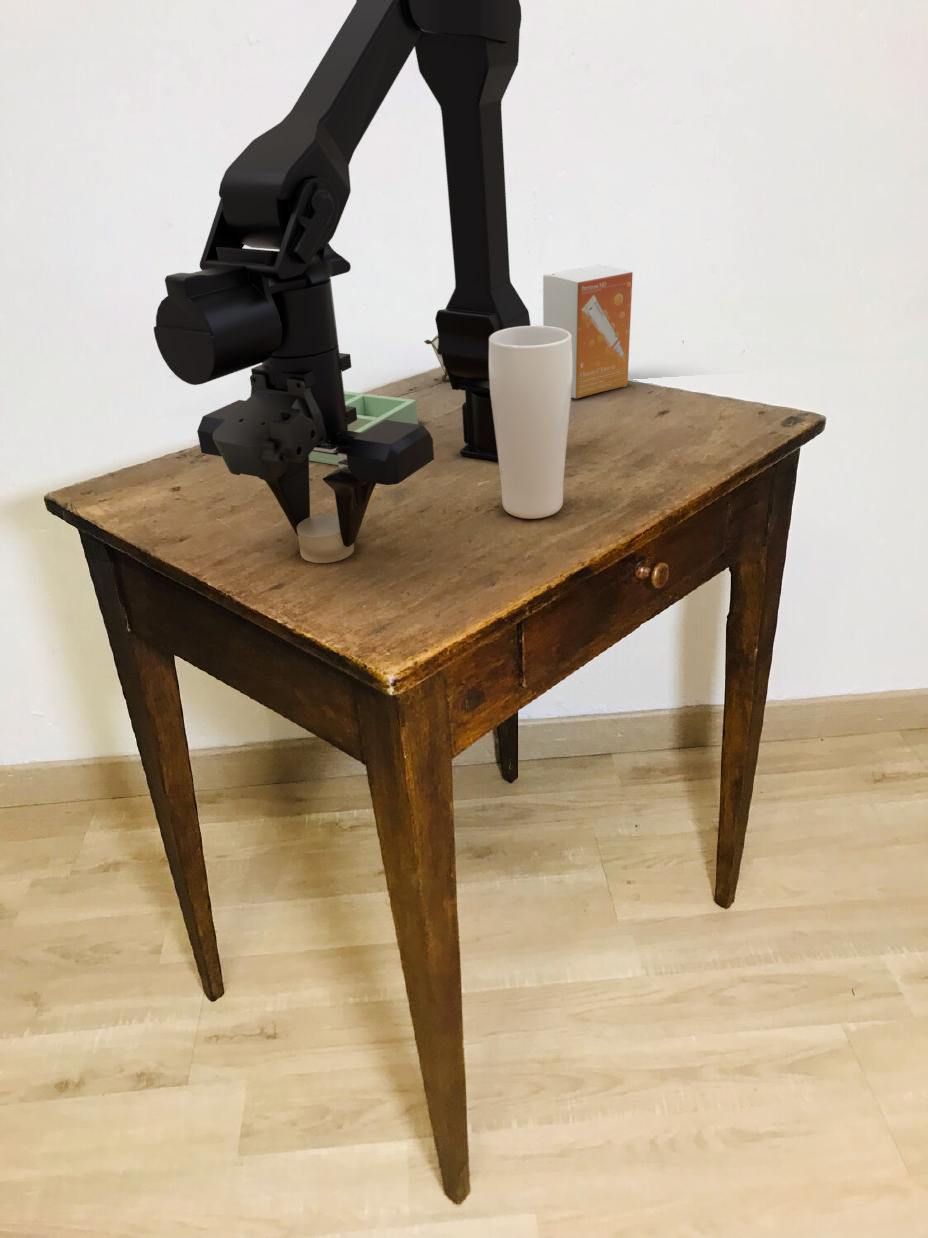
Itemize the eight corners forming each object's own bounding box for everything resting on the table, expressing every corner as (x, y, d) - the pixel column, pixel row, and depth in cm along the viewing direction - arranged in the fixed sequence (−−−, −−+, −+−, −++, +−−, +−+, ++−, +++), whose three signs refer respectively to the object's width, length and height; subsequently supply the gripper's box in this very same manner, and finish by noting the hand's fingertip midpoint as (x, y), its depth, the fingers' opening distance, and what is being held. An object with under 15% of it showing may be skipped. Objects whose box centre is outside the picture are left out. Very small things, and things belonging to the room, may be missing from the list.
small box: (576, 400, 108) (577, 281, 102) (542, 388, 113) (541, 273, 106) (629, 386, 112) (634, 270, 105) (594, 374, 117) (596, 263, 110)
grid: (418, 423, 104) (416, 399, 103) (347, 467, 94) (344, 440, 93) (317, 410, 110) (314, 387, 109) (241, 449, 100) (236, 424, 99)
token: (364, 544, 79) (361, 518, 77) (334, 567, 75) (330, 540, 74) (321, 535, 81) (318, 509, 79) (289, 557, 77) (285, 530, 76)
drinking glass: (579, 496, 85) (581, 326, 77) (560, 528, 79) (561, 348, 72) (506, 490, 87) (501, 323, 79) (483, 520, 82) (476, 344, 74)
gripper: (125, 365, 68) (171, 561, 76) (340, 392, 60) (366, 608, 67) (229, 328, 76) (260, 507, 84) (430, 347, 68) (443, 544, 76)
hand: (325, 539), depth 78 cm, fingers closed on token, 4 cm apart
